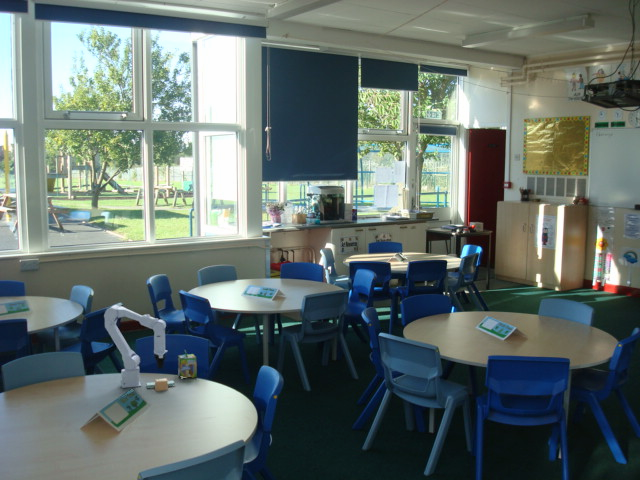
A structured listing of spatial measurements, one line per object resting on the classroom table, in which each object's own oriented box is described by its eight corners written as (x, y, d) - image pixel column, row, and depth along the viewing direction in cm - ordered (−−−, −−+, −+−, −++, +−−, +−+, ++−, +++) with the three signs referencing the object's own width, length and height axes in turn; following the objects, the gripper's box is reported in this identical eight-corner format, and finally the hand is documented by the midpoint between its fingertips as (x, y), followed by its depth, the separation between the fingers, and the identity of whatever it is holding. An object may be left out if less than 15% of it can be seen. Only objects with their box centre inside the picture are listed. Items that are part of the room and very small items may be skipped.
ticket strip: (147, 388, 334) (147, 385, 334) (146, 385, 338) (146, 382, 338) (174, 386, 338) (174, 383, 338) (173, 383, 343) (173, 380, 343)
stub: (155, 391, 330) (155, 381, 330) (155, 388, 335) (154, 379, 334) (167, 390, 332) (167, 380, 332) (166, 387, 337) (166, 378, 336)
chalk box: (197, 377, 354) (196, 351, 353) (180, 379, 351) (180, 353, 349) (194, 373, 362) (194, 347, 361) (177, 374, 359) (177, 349, 358)
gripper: (168, 345, 332) (169, 371, 333) (166, 339, 346) (166, 363, 347) (154, 346, 330) (155, 372, 331) (152, 340, 344) (153, 364, 345)
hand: (159, 368), depth 339 cm, fingers closed
